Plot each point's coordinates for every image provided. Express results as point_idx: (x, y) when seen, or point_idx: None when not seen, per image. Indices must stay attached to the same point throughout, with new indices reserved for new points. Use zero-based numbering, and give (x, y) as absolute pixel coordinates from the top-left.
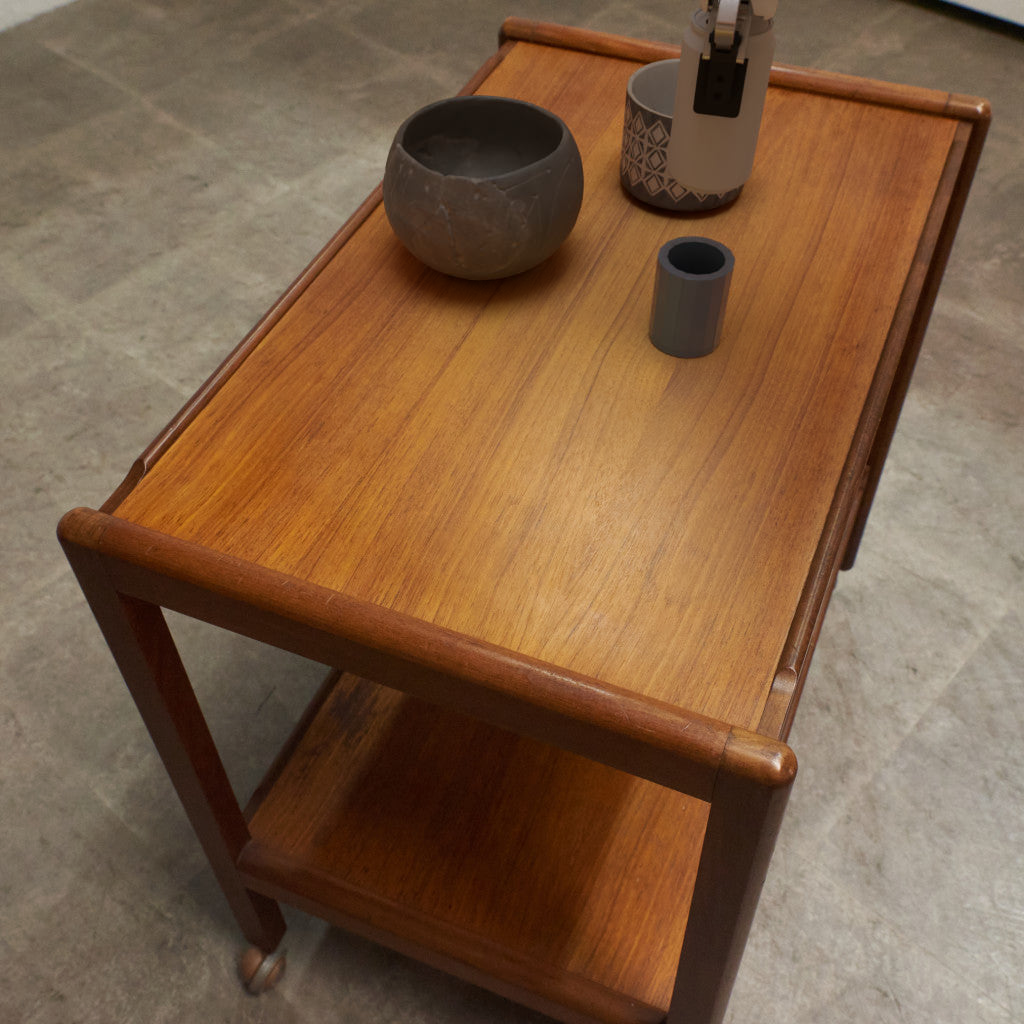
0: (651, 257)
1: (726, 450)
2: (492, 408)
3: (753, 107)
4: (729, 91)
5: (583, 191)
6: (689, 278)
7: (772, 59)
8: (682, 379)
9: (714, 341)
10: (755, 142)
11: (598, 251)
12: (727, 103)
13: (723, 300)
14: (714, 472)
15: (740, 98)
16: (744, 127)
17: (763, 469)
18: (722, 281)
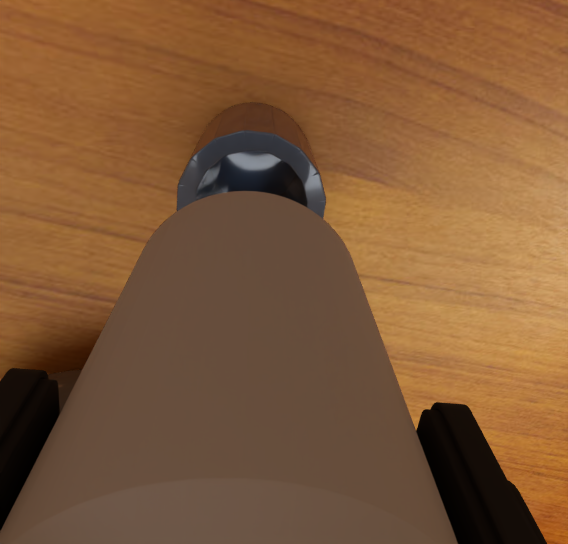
0: (54, 219)
1: (512, 91)
2: (427, 381)
3: (368, 346)
4: (539, 536)
5: (64, 396)
6: (322, 217)
7: (276, 414)
8: (358, 159)
9: (290, 118)
10: (295, 239)
11: (64, 297)
12: (517, 492)
13: (290, 131)
14: (555, 109)
15: (489, 457)
16: (372, 326)
17: (555, 34)
18: (304, 150)
